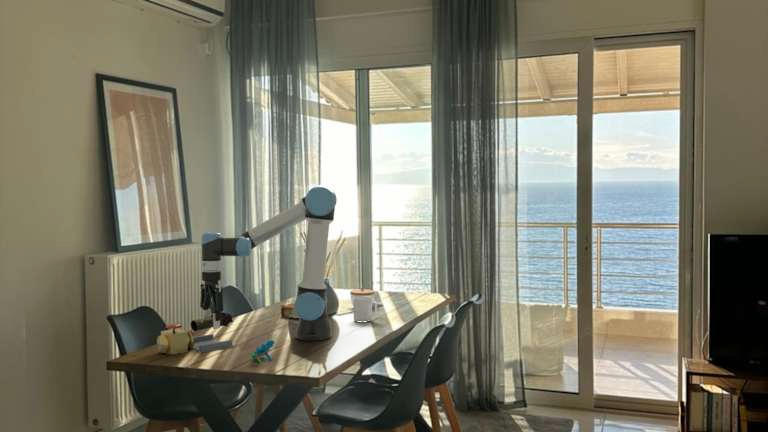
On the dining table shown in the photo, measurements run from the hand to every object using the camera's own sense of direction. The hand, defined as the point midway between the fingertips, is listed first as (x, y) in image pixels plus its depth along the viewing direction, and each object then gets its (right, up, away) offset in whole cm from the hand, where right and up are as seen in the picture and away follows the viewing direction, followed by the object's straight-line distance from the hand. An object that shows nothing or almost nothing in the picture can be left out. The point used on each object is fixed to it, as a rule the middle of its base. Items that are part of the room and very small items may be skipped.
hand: (211, 327), depth 277 cm
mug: (+61, -5, +49) cm, 78 cm away
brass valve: (-12, -8, -11) cm, 18 cm away
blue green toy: (+25, -9, -23) cm, 35 cm away
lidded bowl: (+58, -4, +83) cm, 102 cm away
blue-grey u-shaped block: (-2, -7, -1) cm, 8 cm away
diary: (+33, -5, +66) cm, 73 cm away
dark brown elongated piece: (0, 0, 0) cm, 0 cm away
